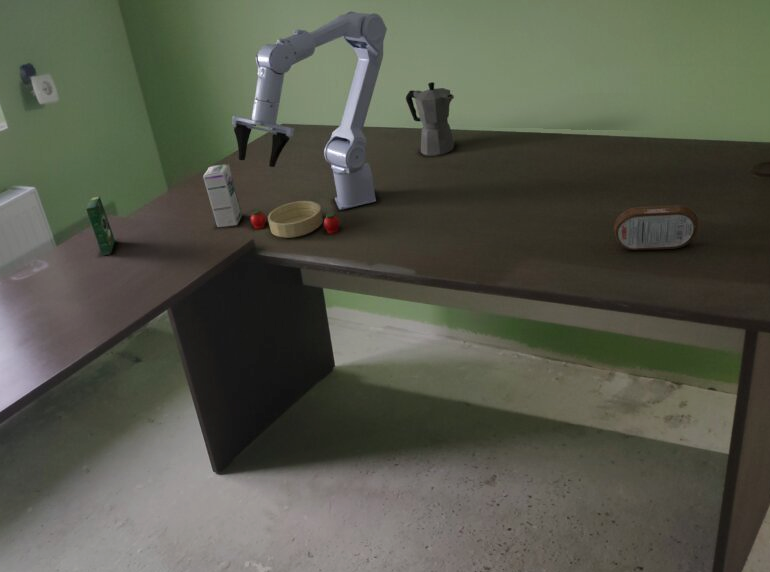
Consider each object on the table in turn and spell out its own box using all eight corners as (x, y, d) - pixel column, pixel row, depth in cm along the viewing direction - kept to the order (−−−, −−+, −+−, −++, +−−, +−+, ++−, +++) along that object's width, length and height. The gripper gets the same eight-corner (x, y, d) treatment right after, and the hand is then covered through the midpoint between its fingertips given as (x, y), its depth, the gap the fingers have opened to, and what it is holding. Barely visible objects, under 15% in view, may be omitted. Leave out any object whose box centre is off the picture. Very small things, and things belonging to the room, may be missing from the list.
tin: (695, 242, 170) (699, 202, 165) (696, 249, 168) (700, 209, 163) (613, 245, 176) (614, 207, 171) (613, 253, 174) (614, 214, 169)
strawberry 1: (261, 221, 223) (258, 206, 220) (269, 225, 220) (266, 209, 218) (249, 227, 221) (246, 212, 219) (258, 231, 219) (254, 215, 216)
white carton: (237, 225, 224) (224, 171, 216) (216, 228, 226) (202, 174, 217) (242, 216, 228) (229, 163, 220) (221, 218, 230) (207, 166, 222)
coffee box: (105, 242, 233) (89, 197, 226) (115, 240, 233) (100, 194, 225) (101, 255, 227) (84, 209, 219) (111, 253, 227) (95, 206, 219)
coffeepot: (467, 145, 235) (462, 77, 224) (447, 158, 230) (441, 90, 220) (422, 140, 245) (415, 75, 234) (401, 153, 240) (393, 87, 230)
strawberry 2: (339, 225, 211) (336, 210, 208) (341, 232, 208) (338, 216, 205) (323, 229, 211) (321, 213, 209) (326, 235, 208) (323, 219, 206)
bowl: (319, 211, 221) (316, 196, 218) (326, 231, 210) (324, 216, 208) (268, 223, 221) (265, 208, 219) (273, 244, 210) (270, 229, 208)
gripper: (231, 94, 194) (221, 157, 199) (291, 106, 190) (279, 170, 195) (242, 96, 200) (233, 156, 205) (301, 108, 196) (289, 169, 202)
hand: (256, 163), depth 201 cm, fingers open, 7 cm apart
